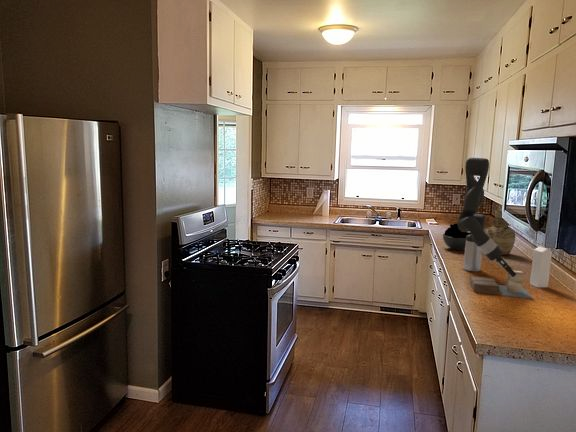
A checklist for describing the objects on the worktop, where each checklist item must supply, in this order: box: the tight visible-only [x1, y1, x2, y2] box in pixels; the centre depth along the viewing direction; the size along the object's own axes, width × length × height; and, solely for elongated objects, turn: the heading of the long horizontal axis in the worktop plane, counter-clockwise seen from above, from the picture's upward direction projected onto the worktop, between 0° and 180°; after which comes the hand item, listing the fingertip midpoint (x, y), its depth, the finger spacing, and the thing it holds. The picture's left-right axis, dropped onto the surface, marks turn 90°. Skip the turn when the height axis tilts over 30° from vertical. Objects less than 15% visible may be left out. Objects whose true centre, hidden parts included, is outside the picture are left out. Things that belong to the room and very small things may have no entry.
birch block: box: [505, 269, 524, 293], centre depth 218 cm, size 4×6×10 cm, turn 76°
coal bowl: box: [442, 222, 471, 251], centre depth 314 cm, size 20×20×19 cm
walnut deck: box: [469, 275, 500, 295], centre depth 222 cm, size 15×11×4 cm
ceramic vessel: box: [484, 210, 516, 257], centre depth 305 cm, size 19×21×30 cm
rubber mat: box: [498, 284, 534, 300], centre depth 219 cm, size 18×13×1 cm
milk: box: [529, 245, 553, 288], centre depth 230 cm, size 6×6×22 cm
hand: (512, 273), depth 218 cm, fingers open, 8 cm apart
